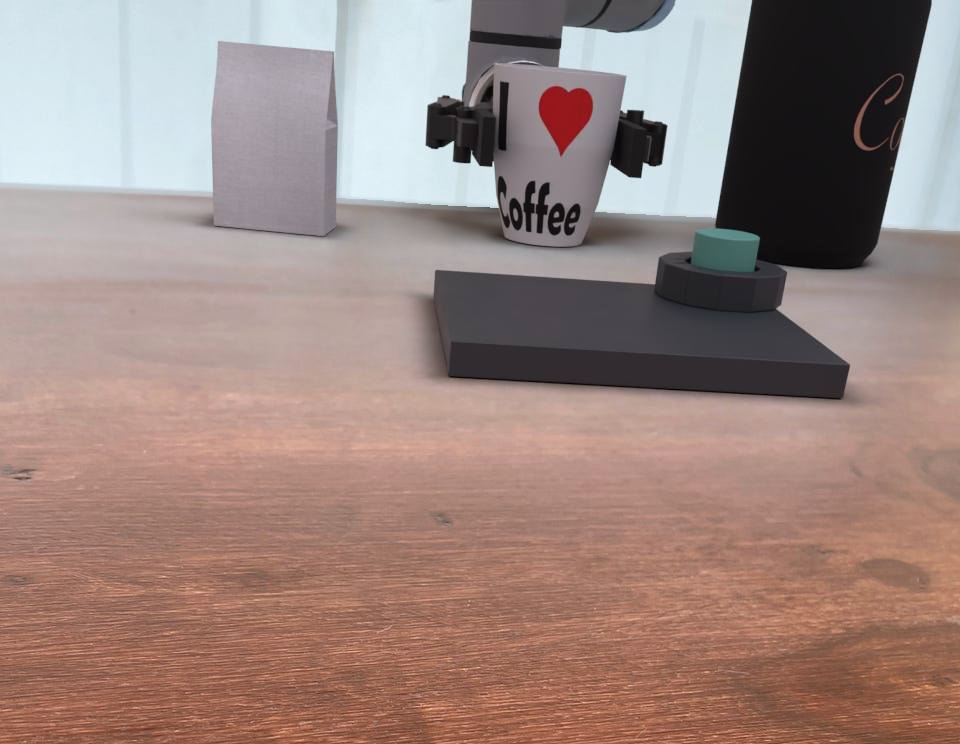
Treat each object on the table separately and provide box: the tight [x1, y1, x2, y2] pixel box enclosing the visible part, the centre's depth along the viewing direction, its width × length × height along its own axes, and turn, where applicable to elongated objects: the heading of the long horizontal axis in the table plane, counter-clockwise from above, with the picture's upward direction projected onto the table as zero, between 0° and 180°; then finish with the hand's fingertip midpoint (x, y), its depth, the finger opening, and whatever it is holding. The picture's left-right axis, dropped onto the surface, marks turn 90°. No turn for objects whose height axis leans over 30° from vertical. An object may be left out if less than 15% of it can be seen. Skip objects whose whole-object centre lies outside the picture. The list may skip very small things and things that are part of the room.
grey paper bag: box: [210, 40, 339, 237], centre depth 71 cm, size 4×7×10 cm, turn 85°
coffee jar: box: [714, 0, 933, 269], centre depth 75 cm, size 11×11×18 cm
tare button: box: [691, 227, 760, 272], centre depth 56 cm, size 3×3×2 cm
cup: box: [493, 63, 627, 248], centre depth 75 cm, size 8×8×10 cm
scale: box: [433, 251, 851, 399], centre depth 53 cm, size 16×14×3 cm
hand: (563, 147), depth 70 cm, fingers open, 8 cm apart
